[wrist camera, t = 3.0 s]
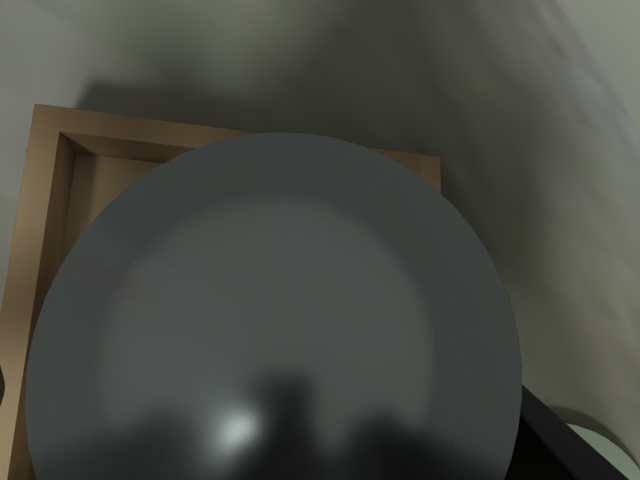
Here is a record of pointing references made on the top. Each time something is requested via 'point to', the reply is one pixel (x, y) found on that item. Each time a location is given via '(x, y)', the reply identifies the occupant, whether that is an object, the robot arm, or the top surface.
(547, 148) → the top surface
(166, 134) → the light wooden tray
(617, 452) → the drink coaster
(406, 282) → the grey round cylinder
